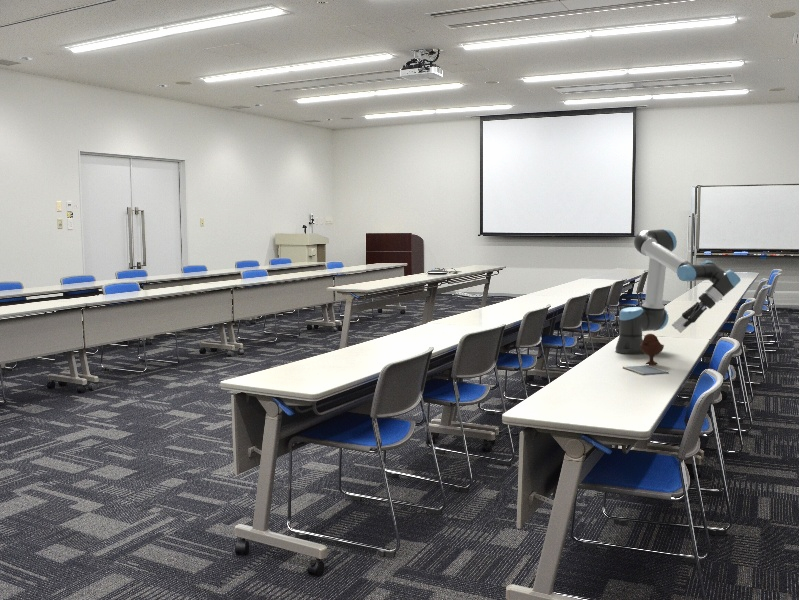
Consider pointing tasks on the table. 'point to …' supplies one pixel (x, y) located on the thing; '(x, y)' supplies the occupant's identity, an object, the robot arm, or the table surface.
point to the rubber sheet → (645, 369)
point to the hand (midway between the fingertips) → (675, 329)
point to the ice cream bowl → (651, 347)
